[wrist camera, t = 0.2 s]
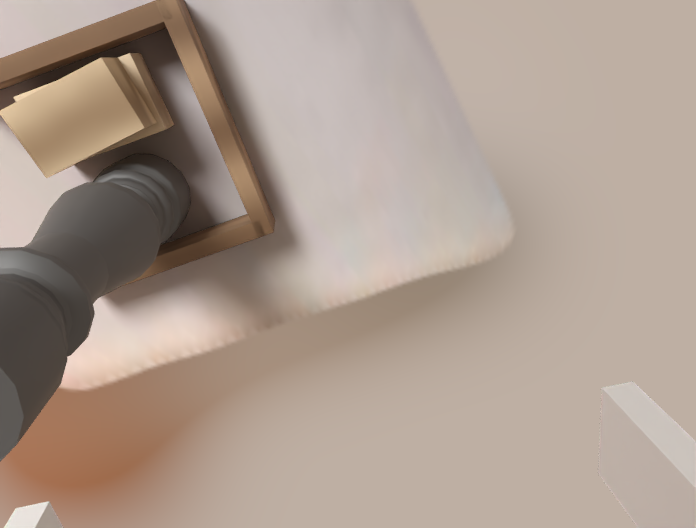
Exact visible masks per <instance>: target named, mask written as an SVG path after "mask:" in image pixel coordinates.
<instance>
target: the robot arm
mask: <svg viewBox="0 0 696 528" xmlns="http://www.w3.org/2000/svg"><path fill="white" fill-rule="evenodd" d="M601 394H602V395H601V416H600V439H599V463H598V464H599V465H598V474H599V476H600V477H601V479H602V480H603V481H604V483H605V484H606V485H607V487H608V488H609V489H610V491H611V492H612V494H613V495H614V496H615V498H616V499H617V500H618V502H619V503H620V504H621V506H622V507H623V508H624V510H625V511H626V513H627V514H628V515H629V517H630V518H631V519H632V521H633V522H634V524H635V525H636V526H637V528H696V441H695V440H694V439H693V438H692V437H691V436H690V435H689V434H687V433H686V432H685V431H684V430H683V429H682V428H681V427H680V426H679V425H678V424H677V423H676V422H675V421H674V420H673V419H672V418H671V417H670V416H669V415H667V414H666V413H665V412H664V411H663V410H662V409H661V408H660V407H659V406H658V405H657V404H656V403H655V402H654V401H653V400H652V399H651V398H650V397H648V395H647V394H645V393H644V392H643V391H642V390H641V389H640V388H639V387H638V386H637V385H636V384H635V383H634V382H627V383H623V384H618V385H613V386H608V387H603V388H602V392H601ZM4 528H64V527H63V525H62V524H61V522H60V520H59V518H58V517H57V515H56V513H55V511H54V509H53V507H52V505H51V504H50V502H44V503H39V504H34V505H29V506H24V507H20V508H16V509H15V511H14V512H13V514H12V515H11V517H10V519H9V520H8V522H7V524H6V525H5V527H4Z"/></svg>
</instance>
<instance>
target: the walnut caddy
mask: <svg viewBox="0 0 696 528" xmlns="http://www.w3.org/2000/svg"><path fill="white" fill-rule="evenodd" d="M165 28H167V30H168V32H169V34H170V37H171V39H172V41H173V44H174V46H175V48H176V50H177V53H178V55H179V57H180V60H181V62H182V64H183V67H184V69H185V71H186V73H187V76H188V78H189V80H190V83H191V85H192V87H193V89H194V92H195V94H196V96H197V99H198V101H199V103H200V106H201V108H202V110H203V112H204V115H205V117H206V119H207V122H208V124H209V126H210V128H211V131H212V133H213V135H214V138H215V140H216V142H217V145H218V147H219V149H220V151H221V154H222V156H223V158H224V161H225V163H226V165H227V167H228V170H229V172H230V174H231V177H232V179H233V181H234V184H235V186H236V188H237V190H238V193H239V195H240V197H241V200H242V202H243V204H244V207H245V209H246V211H247V213H248V214H246V215H244V216H241V217H238V218H235V219H232V220H230V221H227V222H224V223H221V224H218V225H216V226H213V227H210V228H207V229H204V230H202V231H199V232H196V233H193V234H190V235H188V236H185V237H182V238H179V239H176V240H174V241H171V242H168V243H165V244H162V245H160V247H159V250H158V253H157V256H156V259H155V261H154V262H153V264H152V265H151V266H150V267H149V268H148V269H147V270H146V271H145V272H144V273H143V274H142V275H141V276H140V277H138V278H136V279H134V280H132V281H130V282H128V283H126V284H124V285H127V284H129V283H132V282H135V281H138V280H141V279H143V278H146V277H149V276H152V275H155V274H158V273H160V272H163V271H166V270H169V269H172V268H174V267H177V266H180V265H183V264H186V263H188V262H191V261H194V260H197V259H200V258H203V257H205V256H208V255H211V254H214V253H217V252H219V251H222V250H225V249H228V248H231V247H234V246H236V245H239V244H242V243H245V242H248V241H250V240H253V239H256V238H259V237H262V236H264V235H267V234H270V233H273V232H274V224H275V219H274V217H273V214H272V212H271V210H270V207H269V205H268V202H267V200H266V197H265V195H264V193H263V190H262V188H261V185H260V183H259V181H258V178H257V176H256V173H255V171H254V169H253V166H252V164H251V161H250V159H249V156H248V154H247V152H246V149H245V147H244V144H243V142H242V140H241V137H240V135H239V132H238V130H237V128H236V125H235V123H234V120H233V118H232V116H231V113H230V111H229V108H228V106H227V103H226V101H225V99H224V96H223V94H222V91H221V89H220V87H219V84H218V82H217V79H216V77H215V75H214V72H213V70H212V67H211V65H210V62H209V60H208V58H207V55H206V53H205V50H204V48H203V46H202V43H201V41H200V38H199V36H198V34H197V31H196V29H195V26H194V24H193V22H192V19H191V17H190V14H189V12H188V9H187V7H186V5H185V2H184V0H156V1H153V2H150V3H147V4H145V5H142V6H139V7H137V8H134V9H131V10H129V11H126V12H123V13H121V14H118V15H115V16H113V17H110V18H107V19H105V20H102V21H99V22H97V23H94V24H91V25H89V26H86V27H83V28H81V29H78V30H75V31H73V32H70V33H67V34H65V35H62V36H59V37H57V38H54V39H51V40H49V41H46V42H43V43H41V44H38V45H35V46H33V47H30V48H27V49H25V50H22V51H19V52H16V53H14V54H11V55H8V56H6V57H3V58H0V90H1V89H4V88H6V87H9V86H12V85H14V84H17V83H20V82H22V81H25V80H28V79H30V78H33V77H36V76H39V75H41V74H44V73H47V72H49V71H52V70H55V69H57V68H60V67H63V66H65V65H68V64H71V63H73V62H76V61H79V60H82V59H84V58H87V57H90V56H92V55H95V54H98V53H100V52H103V51H106V50H108V49H111V48H114V47H116V46H119V45H122V44H125V43H127V42H130V41H133V40H135V39H138V38H141V37H143V36H146V35H149V34H151V33H154V32H157V31H160V30H162V29H165ZM124 285H122V286H124ZM120 287H121V286H120Z"/></svg>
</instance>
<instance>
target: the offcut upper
mask: <svg viewBox="0 0 696 528" xmlns="http://www.w3.org/2000/svg"><path fill="white" fill-rule="evenodd" d="M0 115H1V116H2V118H3V119H4V121H5V122H6V123H7V125H8V126H9V127H10V129H11V130H12V132H13V133H14V134H15V136H16V137H17V138H18V140H19V141H20V143H21V144H22V145H23V147H24V148H25V149H26V151H27V152H28V154H29V155H30V156H31V158H32V159H33V160H34V162H35V163H36V165H37V166H38V167H39V169H40V170H41V171H42V173H43V174H44V176H45V177H46V178H48V177H50V176H52V175H54V174H56V173H59V172H61V171H63V170H65V169H67V168H69V167H71V166H73V165H75V164H77V163H79V162H81V161H83V160H85V159H87V158H89V157H90V156H92V155H94V154H96V153H98V152H100V151H102V150H104V149H106V148H108V147H110V146H112V145H114V144H116V143H118V142H120V141H122V140H124V139H126V138H128V137H130V136H132V135H134V134H136V133H137V132H139V131H141V130H143V129H145V128H147V127H149V126H151V125H153V124H155V123H157V122H156V120H155V118H154V117H153V115H152V113H151V112H150V110H149V109H148V107H147V105H146V104H145V102H144V100H143V99H142V97H141V95H140V94H139V92H138V90H137V89H136V87H135V85H134V84H133V82H132V80H131V79H130V77H129V75H128V74H127V72H126V71H125V69H124V67H123V66H122V64H121V62H120V61H119V59H118V58H107V57H101V58H99V59H97V60H95V61H93V62H91V63H89V64H87V65H86V66H84V67H82V68H80V69H78V70H76V71H74V72H72V73H70V74H68V75H67V76H65V77H63V78H61V79H59V80H57V81H55V82H53V83H51V84H49V85H48V86H46V87H44V88H42V89H40V90H38V91H36V92H34V93H32V94H30V95H29V96H27V97H25V98H23V99H21V100H19V101H17V102H15V103H13V104H11V105H10V106H8V107H6V108H4V109H2V110H0Z"/></svg>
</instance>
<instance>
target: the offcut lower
mask: <svg viewBox="0 0 696 528" xmlns="http://www.w3.org/2000/svg"><path fill="white" fill-rule="evenodd" d="M118 59H119V61H120V62H121V64H122V66H123V67H124V69H125V71H126V72H127V74H128V75H129V77H130V79H131V80H132V82H133V84H134V85H135V87H136V89H137V90H138V92H139V94H140V95H141V97H142V99H143V100H144V102H145V104H146V105H147V107H148V109H149V110H150V112H151V113H152V115H153V117H154V118H155V120H156V122H157V123H155V124H153V125H151V126H149V127H147V128H145V129H143V130H141V131H139V132H137V133H136V134H134V135H132V136H130V137H128V138H126V139H124V140H122V141H120V142H118V143H116V144H114V145H112V146H110V147H108V148H106V149H104V150H102V151H100V152H98V153H96V154H94V155H92V156H90V157H89V158H91V157H94V156H96V155H99V154H102V153H104V152H107V151H110V150H112V149H115V148H118V147H120V146H123V145H126V144H128V143H131V142H134V141H137V140H139V139H142V138H145V137H147V136H150V135H153V134H155V133H158V132H161V131H163V130H166V129H168V128H170V127H172V126H173V125H174V123H173V121H172V119H171V117H170V115H169V112H168V110H167V108H166V106H165V104H164V102H163V100H162V98H161V95H160V93H159V91H158V89H157V87H156V85H155V83H154V81H153V78H152V76H151V74H150V72H149V70H148V68H147V66H146V63H145V61H144V59H143V57H142V55H141V54H140V53H128V54H126V55H123V56H120V57H118ZM54 82H55V81H54ZM52 83H53V82H52ZM49 84H51V83H49ZM49 84H46V85H44V86H41V87H38V88H36V89H33V90H30V91H28V92H25V93H23V94H20V95H17V96H15V97H14V99H15V101H16V102H17V101H19V100H21V99H23V98H25V97H27V96H29V95H30V94H32V93H34V92H36V91H38V90H40V89H42V88H44V87H46V86H48V85H49ZM87 159H88V158H87ZM85 160H86V159H85Z"/></svg>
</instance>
